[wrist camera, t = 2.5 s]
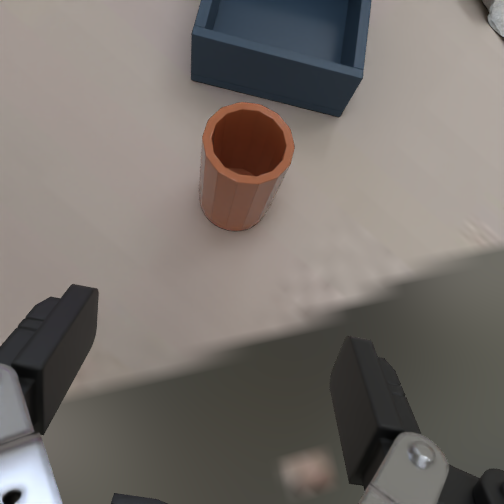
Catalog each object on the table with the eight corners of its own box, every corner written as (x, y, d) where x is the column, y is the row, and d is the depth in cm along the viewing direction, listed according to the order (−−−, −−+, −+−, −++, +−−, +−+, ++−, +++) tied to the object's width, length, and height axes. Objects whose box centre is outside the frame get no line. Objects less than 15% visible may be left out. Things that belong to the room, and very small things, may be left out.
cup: (184, 199, 30) (183, 142, 23) (231, 154, 32) (244, 86, 24) (237, 245, 30) (254, 202, 22) (282, 197, 32) (312, 141, 24)
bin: (339, 117, 35) (362, 78, 30) (190, 80, 33) (191, 33, 29) (354, 3, 38) (377, -47, 34) (221, -34, 37) (226, -90, 33)
